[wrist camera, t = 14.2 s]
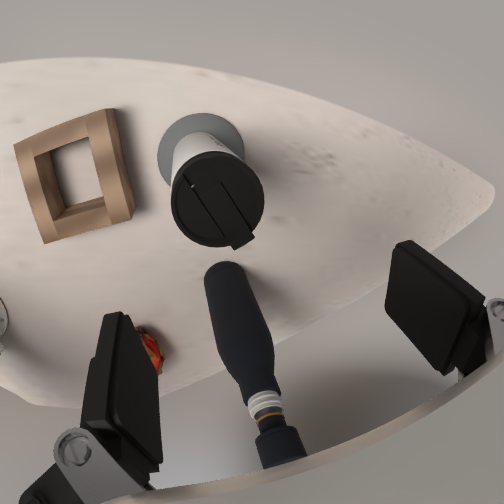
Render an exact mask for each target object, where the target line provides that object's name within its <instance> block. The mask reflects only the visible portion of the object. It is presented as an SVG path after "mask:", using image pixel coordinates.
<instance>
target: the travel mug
mask: <svg viewBox="0 0 504 504" xmlns="http://www.w3.org/2000/svg"><path fill="white" fill-rule="evenodd" d="M171 209H172V214H173V217H174V220H175V222H176V224H177V226H178V227H179V229H180V230H181V231H182V232H183V234H184V235H185V236H187V237H188V238H189V239H191V240H192V241H194V242H196V243H198V244H200V245H204V246H207V247H226V246H231V247H232V248H233V250H236V249H238V248H240V247H242V246H244V245H245V244H247V243H248V242H250V241H251V240H253V239H254V238H255V237H254V235H253V233H252V232H253V230H254V229H255V228H256V226H257V225H258V223H259V221H260V219H261V216H262V214H263V209H264V192H263V188H262V185H261V183H260V181H259V178H258V177H257V176H256V174H255V173H254V172H253V170H252V169H250V168H249V167H248V166H247V165H246V163H245V162H244V161H242V160H241V159H240V158H239V157H238V156H237V155H235V154H234V153H233V152H232V151H231V150H230V149H228V148H227V147H226V146H225V145H224V144H222V143H221V142H220V141H219V140H217V139H216V138H215V137H214V136H212V135H211V134H209V133H205V132H193V133H189V134H187V135H185V136H184V137H183V138H181V139H180V141H179V142H178V143H177V145H176V147H175V149H174V153H173V164H172V177H171Z"/></svg>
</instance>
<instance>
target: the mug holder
mask: <svg viewBox="0 0 504 504" xmlns="http://www.w3.org/2000/svg"><path fill="white" fill-rule="evenodd" d="M85 137H89V142H90V146H91V150H92V155H93V159H94V163H95V167H96V171H97V175H98V178H99V182H100V186H101V189H102V193H103V197H100V198H96V199H93V200H90V201H86V202H83V203H80V204H77V205H73V206H70V207H67V208H65V206H64V203H63V199H62V196H61V193H60V190H59V186H58V183H57V179H56V176H55V172H54V168H53V164H52V161H51V157H50V152H49V151H50V150H52V149H55V148H57V147H60V146H63V145H65V144H68V143H71V142H74V141H76V140H79V139H82V138H85ZM14 150H15V154H16V158H17V162H18V166H19V170H20V173H21V177H22V181H23V184H24V187H25V191H26V194H27V197H28V200H29V203H30V206H31V209H32V212H33V215H34V218H35V221H36V224H37V226H38V229H39V232H40V234H41V237H42V239H43V242H44V244H47V243H50V242H54V241H57V240H60V239H64V238H67V237H70V236H74V235H77V234H81V233H84V232H88V231H91V230H95V229H98V228H102V227H106V226H109V225H113V224H117V223H121V222H125V221H128V220H131V219H132V216H133V213H134V211H135V208H136V204H135V200H134V197H133V193H132V189H131V185H130V181H129V177H128V173H127V169H126V165H125V160H124V156H123V151H122V147H121V142H120V138H119V133H118V128H117V123H116V118H115V112H114V108H110V109H102V110H99V111H96V112H93V113H90V114H87V115H84V116H81V117H78V118H76V119H73V120H70V121H67V122H65V123H62V124H60V125H57V126H55V127H52V128H50V129H47V130H45V131H42V132H40V133H38V134H36V135H33V136H31V137H29V138H27V139H24V140H22V141H20V142H18V143H16V144H14Z"/></svg>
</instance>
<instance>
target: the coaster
mask: <svg viewBox="0 0 504 504" xmlns="http://www.w3.org/2000/svg"><path fill="white" fill-rule="evenodd" d="M193 132H205V133H209V134H211V135H212V136H214V137H215V138H216V139H217V140H219V141H220V142H221V143H222V144H224V145H225V146H226V147H227V148H228V149H230V150H231V151H232V152H233V153H234V154H235V155H237V156H238V157H239V158H240V159H241V160H242V161H243V160H244V148H243V143H242V140H241V138H240V136H239V134H238V132H237V131H236V129H235V128H234V127H233V126H232V125H231V124H230V123H229V122H227V121H226V120H224V119H223V118H221V117H218V116H216V115H212V114H206V113H199V114H192V115H188V116H186V117H183V118H181V119H180V120H178V121H176V122H175V123H174V124H172V125H171V126H170V127H169V128H168V130H167V131H166V132H165V134H164V135H163V137H162V139H161V142H160V144H159V148H158V154H157V160H158V167H159V170H160V173H161V175H162V177H163V178H164V180H165V181H166V183H167V184H168V185H169V186H170V187H171V177H172V164H173V153H174V149H175V147H176V145H177V143H178V142H179V141H180V139H181V138H183V137H184V136H185V135H187V134H189V133H193Z"/></svg>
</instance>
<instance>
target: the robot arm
mask: <svg viewBox="0 0 504 504" xmlns="http://www.w3.org/2000/svg"><path fill="white" fill-rule="evenodd" d="M484 300H485V296H483V295H482V294H481V293H480V292H479V291H478V290H476V289H475V288H474V287H473V286H471V285H470V284H469V283H468V282H467V281H465V280H464V279H463V278H462V277H460V276H459V275H458V274H456V273H455V272H454V271H453V270H451V269H450V268H449V267H447V266H446V265H444V264H443V263H442V262H441V261H440V260H438V259H437V258H436V257H434V256H433V255H431V254H430V253H429V252H427V251H426V250H425V249H423V248H422V247H421V246H419V245H418V244H416V243H415V242H414V241H412V240H407V241H404V242H400V243H398V244H396V246H395V248H394V249H393V252H392V260H391V267H390V274H389V281H388V288H387V294H386V299H385V311H386V313H387V314H388V315H389V317H390V318H391V319H392V320H393V321H394V322H395V323H396V325H398V327H399V328H400V329H401V330H402V331H403V332H404V334H405V335H406V336H407V337H408V338H409V339H410V341H411V342H412V343H413V344H414V345H415V346H416V348H417V349H418V350H419V351H420V352H421V353H422V355H423V356H424V357H425V358H426V359H427V361H428V362H429V363H430V364H431V365H432V367H433V368H434V369H435V370H437V371H440V372H441V374H442V375H443V376H445V375H447V374H448V373H450V372H451V371H453V370H454V368H455V366H456V367H457V368H458V383H456V384H454V385H453V386H451V387H450V388H448V389H447V390H445V391H444V392H442V393H441V394H439V395H437V396H436V397H434V398H432V399H431V400H429V401H427V402H426V403H424V404H422V405H420V406H419V407H417V408H415V409H413V410H412V411H410V412H408V413H406V414H404V415H403V416H401V417H399V418H397V419H395V420H393V421H391V422H389V423H387V424H385V425H383V426H381V427H379V428H376V429H374V430H372V431H370V432H368V433H366V434H363V435H361V436H359V437H357V438H354V439H352V440H350V441H347V442H345V443H342V444H340V445H337V446H335V447H332V448H329V449H327V450H324V451H322V452H319V453H316V454H313V455H311V456H307V457H304V458H301V459H298V460H295V461H292V462H289V463H285V464H282V465H279V466H275V467H272V468H268V469H264V470H260V471H256V472H253V473H249V474H244V475H239V476H235V477H230V478H226V479H221V480H216V481H210V482H205V483H199V484H192V485H186V486H178V487H172V488H167V489H166V488H165V489H158V490H156V489H155V488H154V487H153V486H152V485H151V484H150V483H149V480H150V475H149V473H154V472H159V464H161V463H163V452H162V441H161V428H160V413H159V393H158V375H157V371H156V369H155V367H154V365H153V363H152V361H151V359H150V357H149V355H148V353H147V351H146V349H145V347H144V345H143V343H142V341H141V339H140V337H139V335H138V333H137V331H136V329H135V327H134V325H133V323H132V321H131V318H130V317H129V315H124V314H123V313H122V312H121V311H119V312H114V313H110V314H105V315H104V317H103V321H102V326H101V330H100V335H99V340H98V344H97V349H96V354H95V357H93V358H92V359H91V361H90V365H89V370H88V376H87V381H86V387H85V393H84V400H83V407H82V414H81V423H80V428H72V429H69V430H67V431H65V432H63V433H62V434H61V435H60V436H59V437H58V439H57V441H56V443H55V445H54V450H53V452H54V459H55V461H56V463H55V464H53V466H51V467H50V468H49V469H48V470H47V471H46V472H45V473H44V474H43V475H42V476H41V477H40V478H38V479H37V481H35V482H34V483H33V484H32V485H31V486H30V487H29V488H28V489H27V490H26V491H24V493H23V494H22V495H21V497H20V500H19V504H504V299H501V298H494V299H491V300H490V301H489V302H488V303H487V305H486V307H485V306H484V305H483V303H484ZM7 324H8V318H7V313H6V310H5V308H4V305H3V304H2V302H1V300H0V336H1V335H2V334H3V333H4V331H5V330H6V328H7ZM4 349H5V347H4V346H3V345H2V343H1V342H0V355H1V352H2V351H3V350H4Z"/></svg>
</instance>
